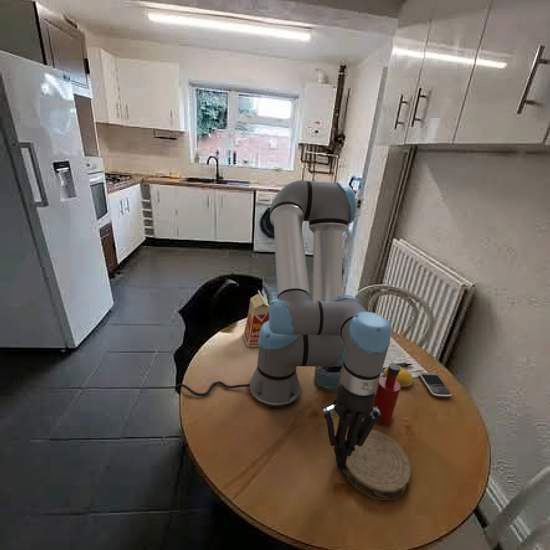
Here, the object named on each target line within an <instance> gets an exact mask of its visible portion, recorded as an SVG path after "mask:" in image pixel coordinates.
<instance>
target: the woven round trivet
mask: <svg viewBox="0 0 550 550" xmlns="http://www.w3.org/2000/svg"><path fill="white" fill-rule="evenodd" d="M346 437H347V434H346ZM346 437H345V439H346V441H347V438H346ZM341 470H342V472H343V474H344V475H345V477H346V479H347V481H348V482H349V483H350V484H352V486H353V487H354V488H355V489H356V490H358V491H359V492H361V493H362V494H364V495H366V496H367V497H370V498H373V499H375V500H380V501H383V500H384V501H386V500H388V501H391V500H394V499H396V498H399V497H401V495H402V494H403V493H404V492H405V491H406V490H407V486H408V484H409V481H410V478H411V473H412V468H411V462H410V459H409V457H408V456H407V453H406V451H405V450H404V449H403V448H402V447H401V445H400V444H399V443H398V442H397V441H396V440H395V439H393V438H392V437H390V436H389V435H388V434H386V433H383V432H382V431H380V430H375V429H372V430H371V432H370V433H369V435H368V437H367V438H366V440H365V442H364V444H363V445H362V446H358V445H355V451H352V454H351V456H347V460H346V464H345V468H344V469H341Z"/></svg>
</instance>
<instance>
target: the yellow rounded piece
mask: <svg viewBox="0 0 550 550" xmlns="http://www.w3.org/2000/svg"><path fill="white" fill-rule="evenodd" d="M397 365H398V364H397ZM398 366H399V367H400V371H399V374H398V376H397V378H396V381H397V382H398V383H399V384H400V386H401V388H407V387H410V386H411V385H412V384H413V382H414V377H413V375H412V373H411V372H410V371H409V370H408V369H403V368H402V367H401V366H400V365H398ZM388 367H389V365H388V366H387V367H385V368H384V370H383V374H384V377H387V374H388Z"/></svg>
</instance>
